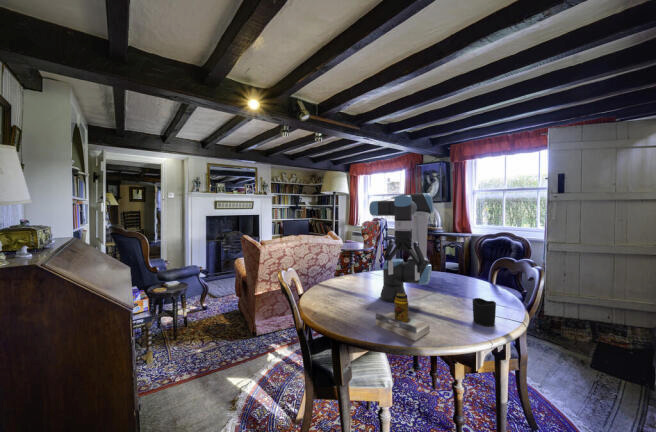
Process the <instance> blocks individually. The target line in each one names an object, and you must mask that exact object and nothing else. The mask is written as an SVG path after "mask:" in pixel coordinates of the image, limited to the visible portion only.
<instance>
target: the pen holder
mask: <svg viewBox="0 0 656 432" xmlns="http://www.w3.org/2000/svg"><path fill="white" fill-rule="evenodd" d="M496 308H497V302H496V301H494V300H486V299H483V298H480V297H475V298H472V318H473V319H472V320H473V322H474V323H475V324H477V325H479V326H483V327H493V326H495V324H496V312H497V311H496V310H497V309H496Z"/></svg>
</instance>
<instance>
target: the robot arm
mask: <svg viewBox="0 0 656 432" xmlns="http://www.w3.org/2000/svg"><path fill="white" fill-rule="evenodd" d="M368 210H369V214H370V215H371V217H372V216H374V217H388V216H389V217H390V216H391V217H394V229H395V230H394V239H393V238H392V239H389V240H388V245H387V247H386V249H385V252H384V253H383V256H382V258H383V259H385V260H384V262H383V266H382V267H383V268H382V273H383V275H382V279H383V280H382V281H383V282H382V283H383V285H382V289H381V291H380V299H381V300H382V301H384V302H385V303H386V302H387V303H392V304H395V295H396V294H397V293H404V294H407V293H406V290H405V287H404V283H405V284H415V285H420V286H421V285H424V286H425V285H429V283H430V279H431V275H432V264H431V263H430V261H429V259H428V258H427V252H428V251H427V250H428V249H427V248H428V247H427V245H428V220H429V218H430V217H431V215H432V213H434V202H433V196H432V194H431V193H429V192H427V193H426V192H421V193H419V192H418V193H403V194H399V195H396V196H392V197H391V198H389V199H385V200H374V201H373V200H372V201H370V204H369V207H368ZM394 245H395V246H394ZM401 251H403V252H407V254H409V257H408V258H407V261H406V262H405V261H404V259H403V258H394V256H396V254H398V252H401Z"/></svg>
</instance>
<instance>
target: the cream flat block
mask: <svg viewBox="0 0 656 432" xmlns="http://www.w3.org/2000/svg"><path fill="white" fill-rule="evenodd" d="M394 315H395V312H392V311H390V312H388V313H385V314H381V313H379V312H376V313H375V326H376V327H379V328H382V329H384V330H386V331H388V332H392V333H394V334H397V335H399V336H400V337H401V336H402V337H404V338H407V339H409V340H412V341H415V342H416V341H417V340H419V339H421V338H422V337H424V336H425V335H427V334H428V333H429V332H430V329H431V328H430V325H431V324H430V323H429V324H428V323H425V322H422V321H419V319H414V318H413V317H411V319H410V324H407V323H404V322H401V321H398V320H396V319H394Z"/></svg>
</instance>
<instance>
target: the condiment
mask: <svg viewBox="0 0 656 432" xmlns="http://www.w3.org/2000/svg"><path fill="white" fill-rule="evenodd" d="M408 299H409V298H408V294H407V293H406V294H404V293H397V294H396V295H395V303H394V313H395V315H394V319H396V320H398V321H401V322H404V323H407V324H410V319H411V318H412V317H411V316H409V315H410V313H409V301H408Z"/></svg>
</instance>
